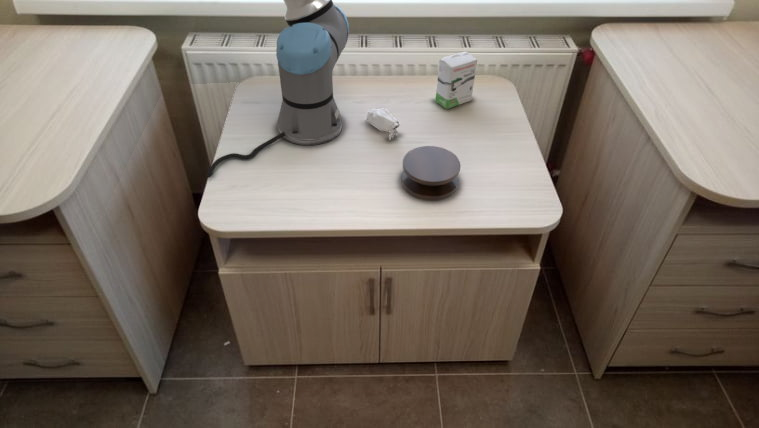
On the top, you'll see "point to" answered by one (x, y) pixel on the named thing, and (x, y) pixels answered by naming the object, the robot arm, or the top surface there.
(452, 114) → the top surface
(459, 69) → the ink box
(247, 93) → the top surface
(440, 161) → the stand
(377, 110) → the crumpled white bag
